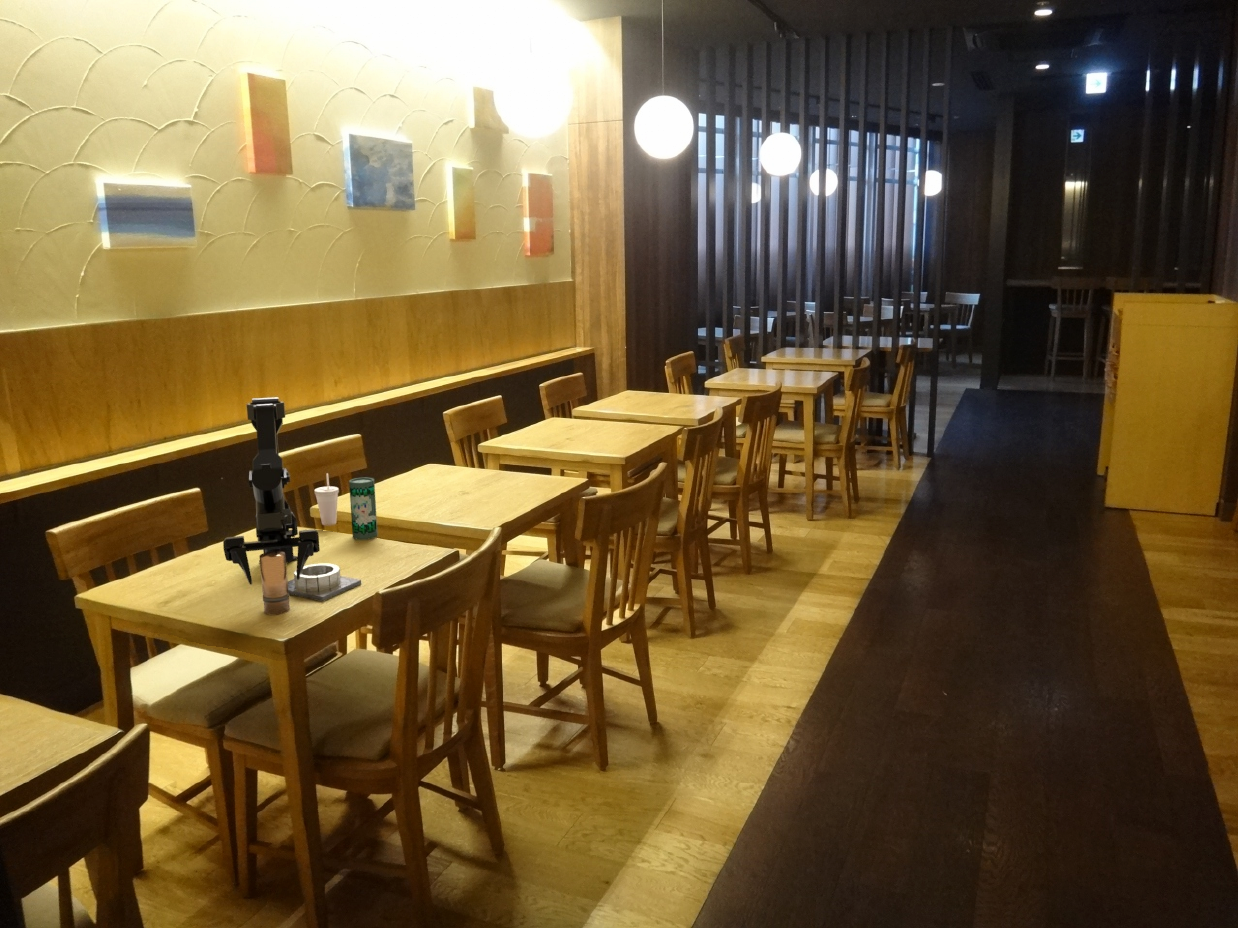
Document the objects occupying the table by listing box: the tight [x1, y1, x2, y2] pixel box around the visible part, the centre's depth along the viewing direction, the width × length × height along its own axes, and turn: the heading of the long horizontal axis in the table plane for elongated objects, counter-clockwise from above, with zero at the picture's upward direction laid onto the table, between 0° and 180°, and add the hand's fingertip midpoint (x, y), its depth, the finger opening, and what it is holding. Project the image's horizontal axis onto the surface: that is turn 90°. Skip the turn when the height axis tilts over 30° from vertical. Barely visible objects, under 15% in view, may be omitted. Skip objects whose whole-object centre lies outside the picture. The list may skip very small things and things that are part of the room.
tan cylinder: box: [259, 551, 291, 616], centre depth 202 cm, size 5×5×12 cm
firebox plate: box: [288, 563, 362, 602], centre depth 216 cm, size 14×12×4 cm
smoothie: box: [314, 472, 340, 526], centre depth 264 cm, size 6×6×14 cm
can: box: [348, 477, 378, 541], centre depth 252 cm, size 6×6×15 cm
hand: (274, 581), depth 200 cm, fingers open, 9 cm apart
